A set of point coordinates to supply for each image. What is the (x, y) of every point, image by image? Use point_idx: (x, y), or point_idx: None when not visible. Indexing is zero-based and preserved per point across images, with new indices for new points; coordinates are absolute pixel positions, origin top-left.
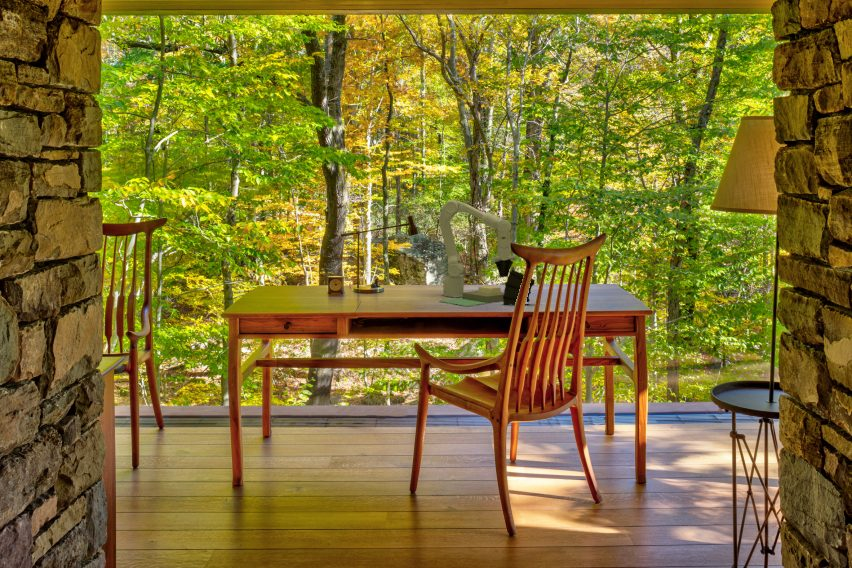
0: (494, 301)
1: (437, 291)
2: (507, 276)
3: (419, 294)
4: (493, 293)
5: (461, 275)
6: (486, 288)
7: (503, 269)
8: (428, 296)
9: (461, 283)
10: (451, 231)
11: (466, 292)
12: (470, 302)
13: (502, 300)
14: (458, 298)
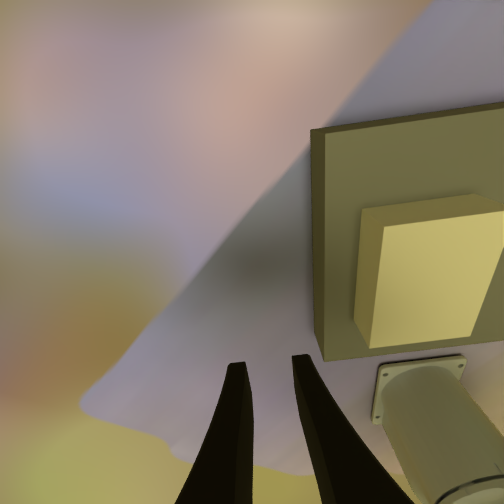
0: (488, 104)
1: None
2: (235, 364)
3: None
4: (446, 198)
5: (492, 500)
6: (493, 260)
7: (357, 451)
8: (488, 417)
9: (467, 431)
10: None
11: (493, 333)
12: None
13: (397, 117)
14: None
